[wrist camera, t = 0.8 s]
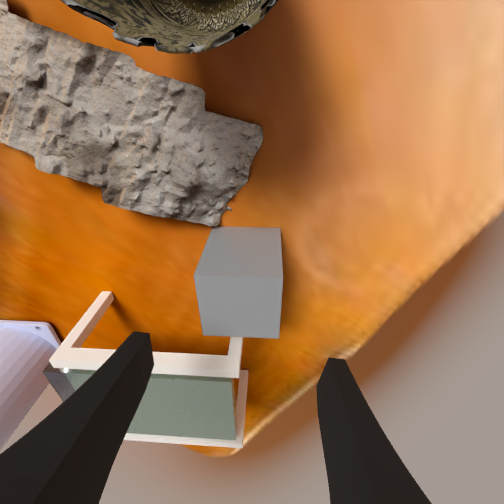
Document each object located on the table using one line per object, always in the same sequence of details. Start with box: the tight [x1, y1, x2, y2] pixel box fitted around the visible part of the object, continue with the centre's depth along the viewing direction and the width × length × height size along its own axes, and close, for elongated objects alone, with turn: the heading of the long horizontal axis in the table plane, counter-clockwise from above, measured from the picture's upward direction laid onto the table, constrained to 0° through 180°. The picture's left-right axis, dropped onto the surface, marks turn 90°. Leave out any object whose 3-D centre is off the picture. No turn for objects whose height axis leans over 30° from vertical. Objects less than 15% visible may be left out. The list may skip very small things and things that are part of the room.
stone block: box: [194, 226, 283, 339], centre depth 18 cm, size 5×5×6 cm
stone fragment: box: [0, 0, 263, 226], centre depth 14 cm, size 25×3×10 cm
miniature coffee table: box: [49, 291, 248, 448], centre depth 22 cm, size 12×11×6 cm
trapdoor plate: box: [42, 362, 237, 440], centre depth 20 cm, size 12×8×2 cm
